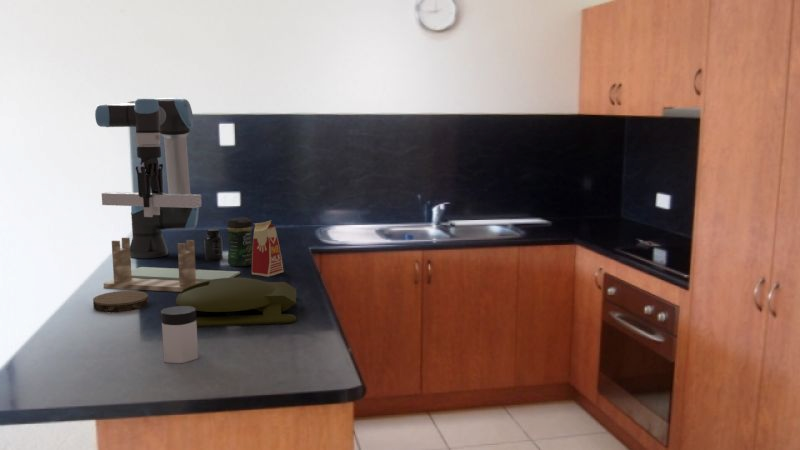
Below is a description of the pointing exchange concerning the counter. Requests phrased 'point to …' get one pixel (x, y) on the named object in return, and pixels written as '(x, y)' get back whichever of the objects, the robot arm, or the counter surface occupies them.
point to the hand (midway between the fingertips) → (152, 215)
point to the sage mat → (174, 273)
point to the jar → (179, 334)
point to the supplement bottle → (213, 245)
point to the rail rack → (127, 282)
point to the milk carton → (266, 250)
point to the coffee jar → (240, 241)
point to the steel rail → (157, 199)
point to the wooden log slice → (120, 301)
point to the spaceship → (240, 301)
